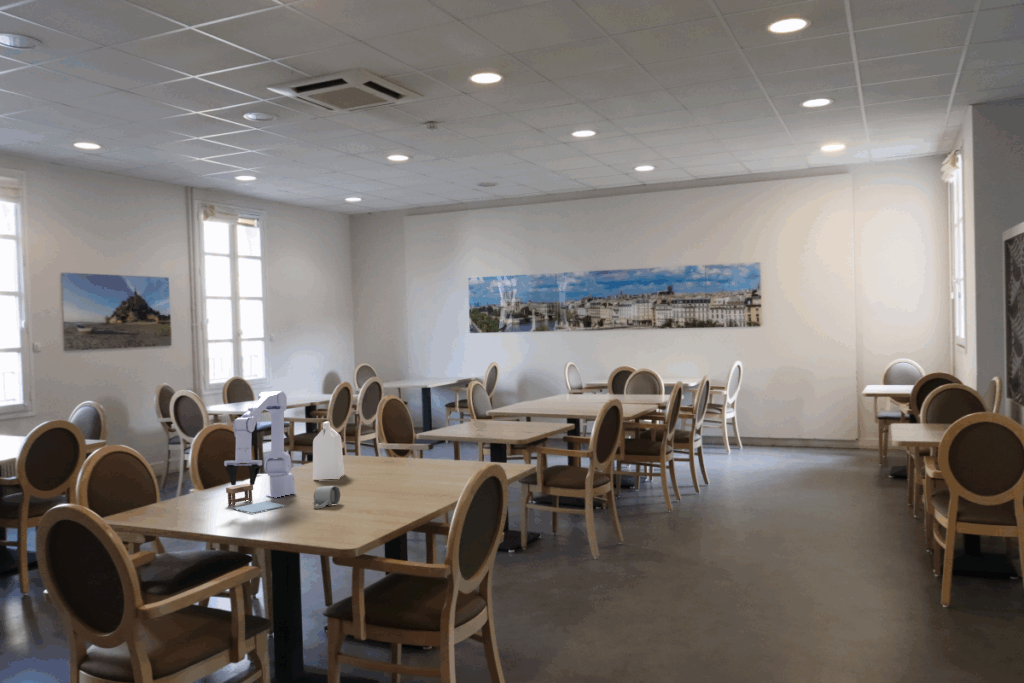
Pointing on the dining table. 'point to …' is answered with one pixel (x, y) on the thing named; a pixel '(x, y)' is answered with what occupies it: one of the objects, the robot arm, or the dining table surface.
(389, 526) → the dining table surface
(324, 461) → the milk
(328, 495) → the ceramic mug
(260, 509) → the mat
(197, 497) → the dining table surface
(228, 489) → the stool
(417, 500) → the dining table surface
